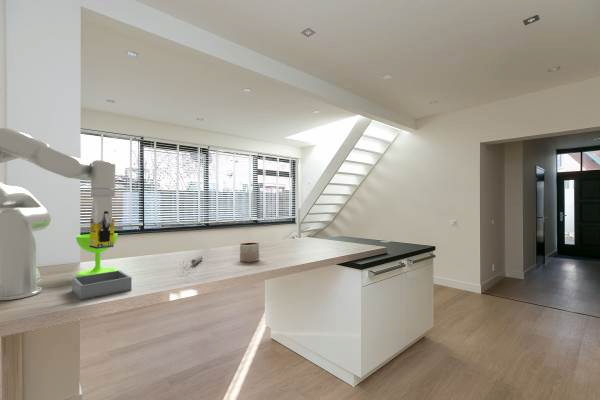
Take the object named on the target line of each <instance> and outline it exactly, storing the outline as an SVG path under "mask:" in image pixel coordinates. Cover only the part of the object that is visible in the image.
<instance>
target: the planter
mask: <svg viewBox="0 0 600 400" xmlns="http://www.w3.org/2000/svg"><path fill="white" fill-rule="evenodd" d="M239 260H240V262H242V263H256V262H258V261H260V243H259V242H254V241H253V242H249V241H248V242H241V243H239Z"/></svg>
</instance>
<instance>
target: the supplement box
mask: <svg viewBox="0 0 600 400" xmlns="http://www.w3.org/2000/svg"><path fill="white" fill-rule="evenodd" d="M89 221H90V222H89V224H90V225H89V234H90V247H91V248H96V249H99V248H107V247H111V248H114V245H115V244H114V233H115V218H112V222H111V223H110V241H108V242H99V231H101V230H100V222H99V223H98V224H96V223H94V219H92V218H91V217H90V220H89ZM102 222H105V221H102Z"/></svg>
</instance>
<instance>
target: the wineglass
mask: <svg viewBox="0 0 600 400" xmlns="http://www.w3.org/2000/svg"><path fill="white" fill-rule="evenodd" d="M118 235H119V234H118V233H115V232H114V245H115V244H116V242H117V240H118ZM75 239H76V242H77V244H78V246H80V248H81V249H82V250H84V251H86V252H89V253H94V255H95V256H94V258H95V259H94V263H95V265H94V268H91V269H86V270H82V271H80V272H78V273H76V276H75V277H79V276H86V275H92V274H99V273H105V272H111V271H118V270H119V269H117V268H114V267H102V266H101V253H103V252H105V251H107V250H109V249H110V248H112V247H107V248H99V249H96V248H91V247H90V233H87V234H80V235H76V236H75Z"/></svg>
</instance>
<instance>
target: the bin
mask: <svg viewBox="0 0 600 400" xmlns="http://www.w3.org/2000/svg"><path fill="white" fill-rule="evenodd" d="M117 270H118V271H111V272H105V273H99V274H92V275H86V276H79V277H76V276H75V277H72V278H71V289H72V292H73V294H74V295H75V296H76V297H77V298H78V300H79V301H87V300H92V299H95V298H101V297H105V296H106V297H107V296H110V295H115V294H121V293H124V292H125V291H126V292H129V291H132V276H130V275H128V274H127V273H126V272H123V271H122V270H119V269H117Z"/></svg>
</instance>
